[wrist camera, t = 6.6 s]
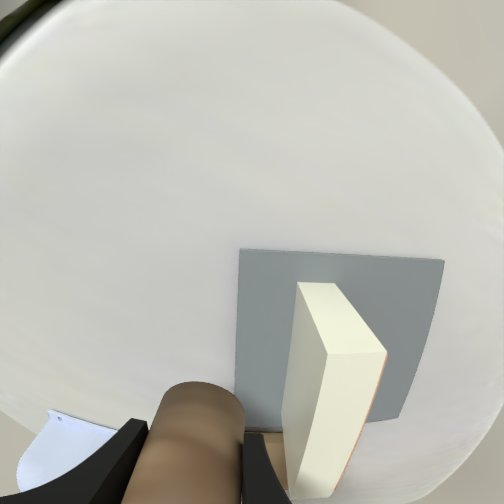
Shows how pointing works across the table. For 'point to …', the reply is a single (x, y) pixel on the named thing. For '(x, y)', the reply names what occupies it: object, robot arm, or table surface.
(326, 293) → the tile
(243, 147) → the table surface
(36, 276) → the table surface
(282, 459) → the board
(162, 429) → the dowel
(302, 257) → the mat
